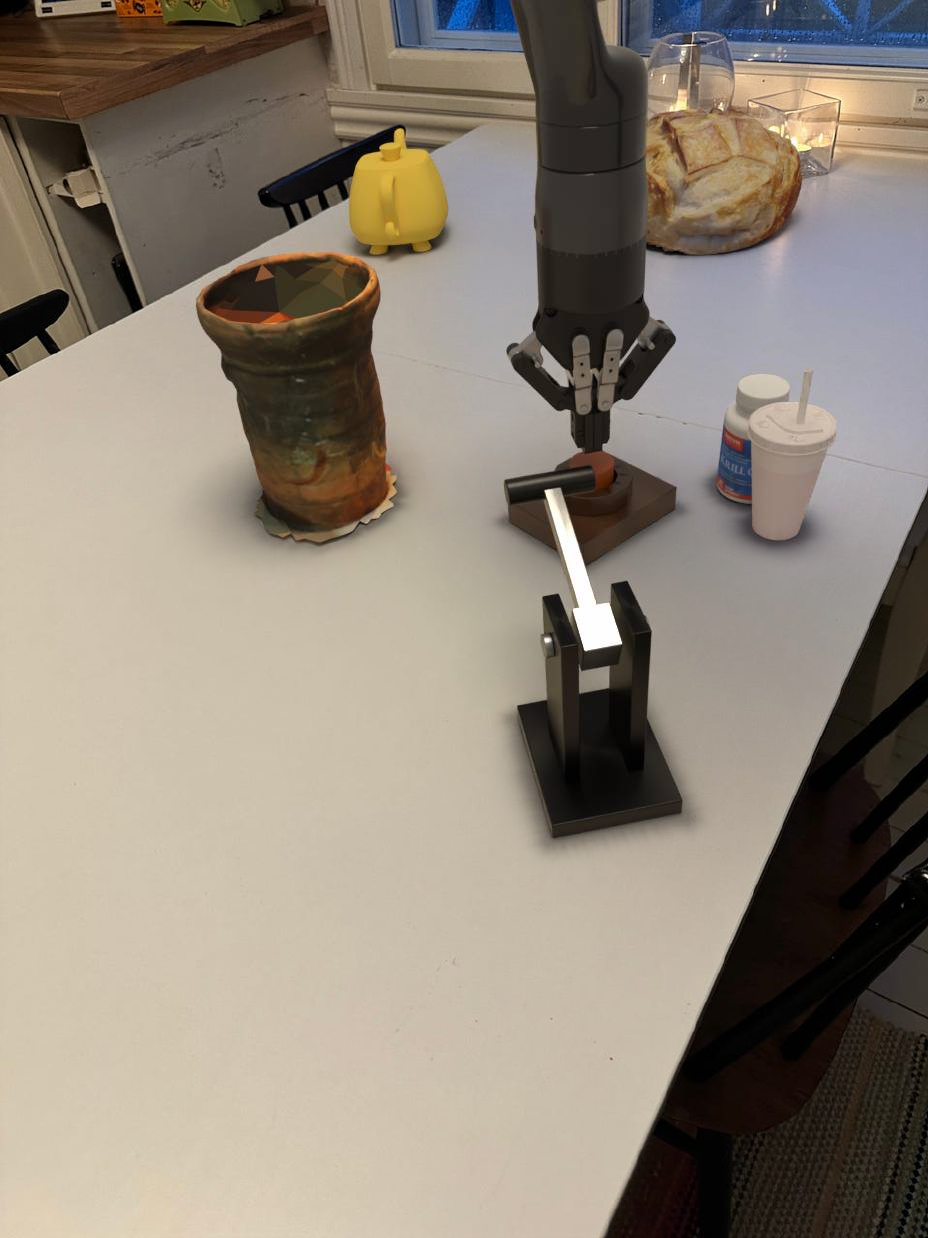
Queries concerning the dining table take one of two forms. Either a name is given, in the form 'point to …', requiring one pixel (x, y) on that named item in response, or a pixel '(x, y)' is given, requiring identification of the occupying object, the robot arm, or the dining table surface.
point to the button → (596, 466)
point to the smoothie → (787, 461)
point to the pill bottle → (744, 433)
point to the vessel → (305, 387)
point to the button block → (603, 510)
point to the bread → (717, 180)
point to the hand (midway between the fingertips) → (590, 447)
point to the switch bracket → (597, 729)
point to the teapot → (397, 198)
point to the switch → (572, 560)
